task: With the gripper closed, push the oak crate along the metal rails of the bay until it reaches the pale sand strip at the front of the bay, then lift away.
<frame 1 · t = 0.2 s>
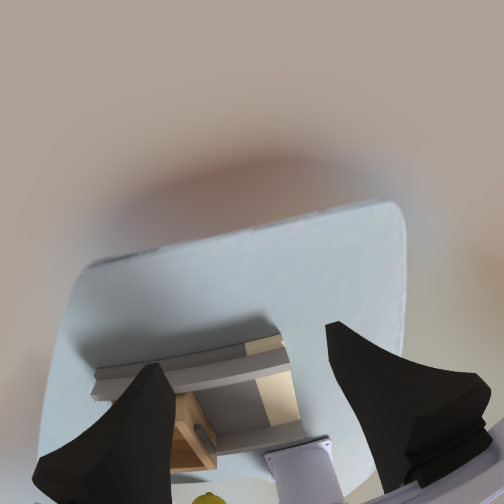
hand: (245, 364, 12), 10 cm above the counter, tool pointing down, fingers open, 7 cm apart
bay: (203, 402, 25), on the counter
lemon: (209, 491, 32), on the counter
crate: (168, 432, 22), point 3 cm above the counter, slide at 0.0 cm
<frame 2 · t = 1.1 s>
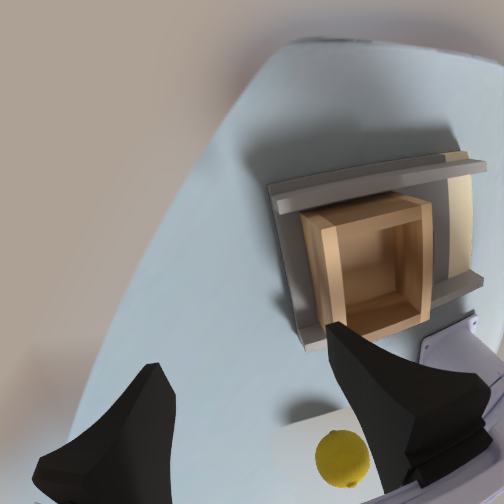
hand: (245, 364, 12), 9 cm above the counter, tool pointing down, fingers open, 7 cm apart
bay: (390, 240, 21), on the counter
lemon: (331, 430, 28), on the counter
crate: (374, 267, 18), point 3 cm above the counter, slide at 0.0 cm
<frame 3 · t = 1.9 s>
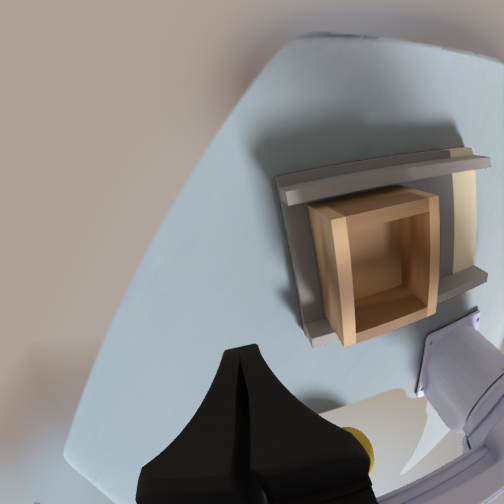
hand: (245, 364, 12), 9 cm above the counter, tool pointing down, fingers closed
bay: (396, 234, 21), on the counter
lemon: (335, 427, 28), on the counter
crate: (381, 260, 18), point 3 cm above the counter, slide at 0.0 cm
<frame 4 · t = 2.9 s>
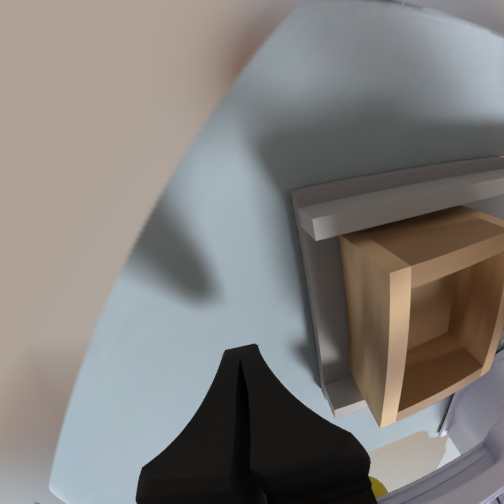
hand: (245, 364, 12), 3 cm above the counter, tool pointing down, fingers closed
bay: (444, 267, 15), on the counter
lemon: (348, 473, 22), on the counter
crate: (435, 310, 12), point 3 cm above the counter, slide at 0.0 cm
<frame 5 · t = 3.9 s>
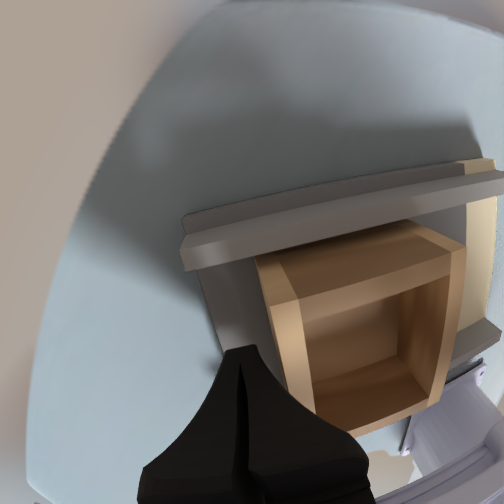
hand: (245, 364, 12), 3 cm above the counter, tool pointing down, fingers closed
bay: (379, 289, 15), on the counter
crate: (367, 336, 11), point 3 cm above the counter, slide at 1.0 cm, touching gripper
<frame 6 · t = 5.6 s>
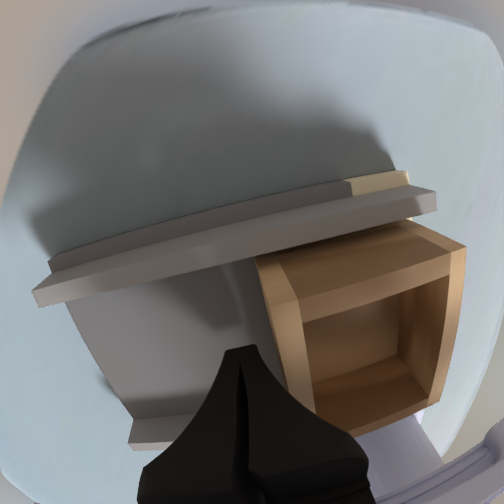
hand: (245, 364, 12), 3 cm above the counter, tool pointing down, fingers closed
bay: (251, 325, 15), on the counter
crate: (367, 336, 12), point 3 cm above the counter, slide at 7.9 cm, touching gripper
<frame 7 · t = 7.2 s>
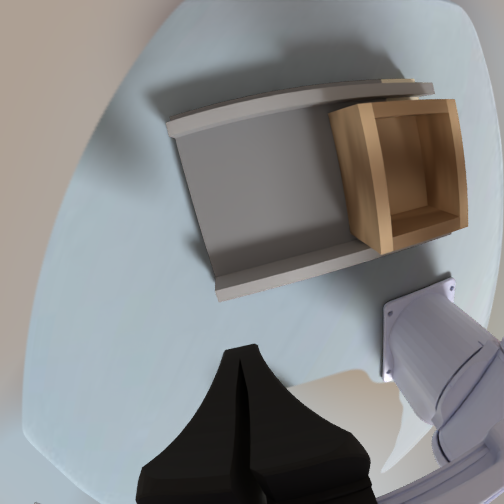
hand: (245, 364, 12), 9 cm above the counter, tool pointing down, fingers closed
bay: (322, 175, 19), on the counter
crate: (407, 167, 16), point 3 cm above the counter, slide at 7.9 cm
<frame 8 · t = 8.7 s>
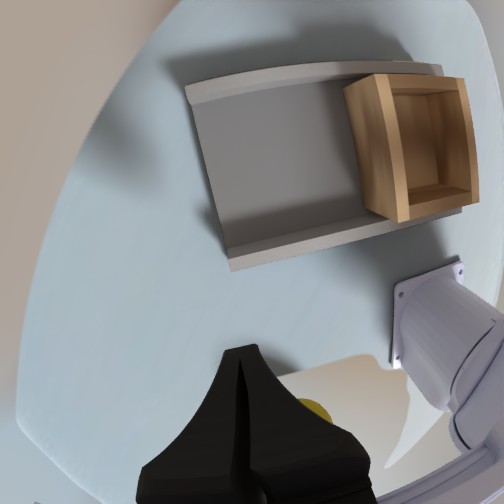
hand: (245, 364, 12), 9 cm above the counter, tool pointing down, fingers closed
bay: (336, 149, 18), on the counter
crate: (420, 142, 15), point 3 cm above the counter, slide at 7.9 cm
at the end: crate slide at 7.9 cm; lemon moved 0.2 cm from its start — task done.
